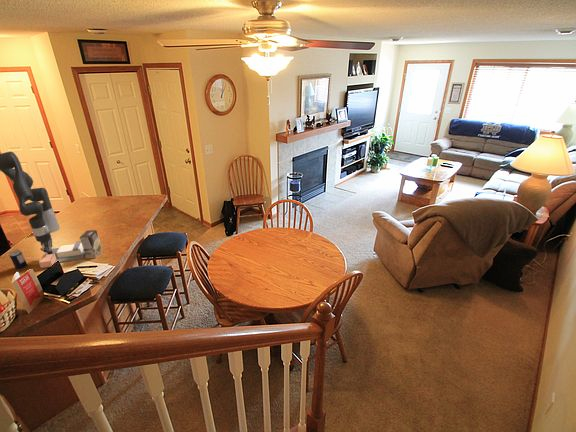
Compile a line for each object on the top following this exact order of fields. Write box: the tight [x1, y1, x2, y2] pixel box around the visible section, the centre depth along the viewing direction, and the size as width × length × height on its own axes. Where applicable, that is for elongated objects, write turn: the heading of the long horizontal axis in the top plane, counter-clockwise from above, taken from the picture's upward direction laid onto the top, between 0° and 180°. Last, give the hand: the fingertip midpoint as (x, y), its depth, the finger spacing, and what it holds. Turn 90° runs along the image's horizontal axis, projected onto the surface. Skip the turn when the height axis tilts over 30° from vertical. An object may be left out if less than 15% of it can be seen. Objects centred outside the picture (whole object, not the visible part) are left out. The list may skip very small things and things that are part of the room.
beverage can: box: [8, 249, 28, 271], centre depth 183 cm, size 6×6×12 cm
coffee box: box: [79, 229, 103, 259], centre depth 196 cm, size 9×6×16 cm
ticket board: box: [38, 240, 86, 267], centre depth 197 cm, size 18×24×6 cm
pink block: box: [38, 254, 56, 269], centre depth 188 cm, size 8×6×4 cm
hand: (51, 255), depth 192 cm, fingers closed
